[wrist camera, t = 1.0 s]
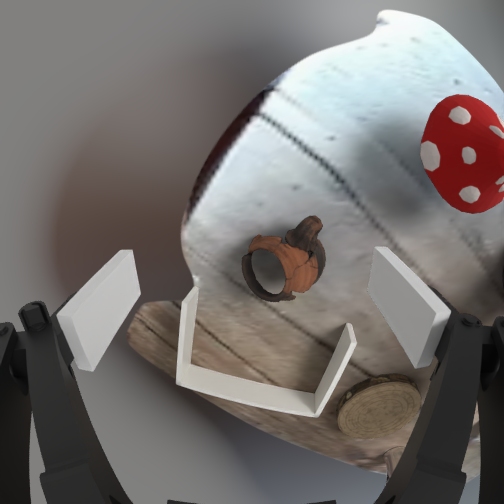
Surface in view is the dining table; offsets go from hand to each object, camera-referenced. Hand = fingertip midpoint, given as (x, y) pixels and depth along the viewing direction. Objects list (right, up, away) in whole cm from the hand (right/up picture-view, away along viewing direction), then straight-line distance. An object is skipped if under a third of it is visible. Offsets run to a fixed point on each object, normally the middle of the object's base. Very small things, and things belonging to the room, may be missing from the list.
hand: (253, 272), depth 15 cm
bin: (+1, -14, +28) cm, 32 cm away
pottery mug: (+5, +1, +23) cm, 24 cm away
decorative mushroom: (+26, +14, +16) cm, 33 cm away
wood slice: (+23, -27, +30) cm, 46 cm away
